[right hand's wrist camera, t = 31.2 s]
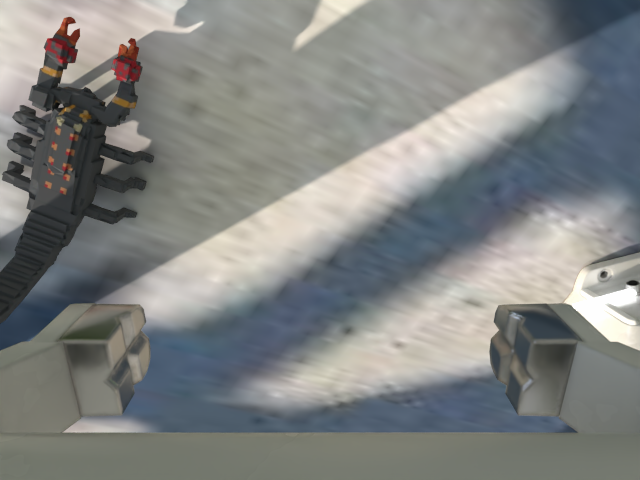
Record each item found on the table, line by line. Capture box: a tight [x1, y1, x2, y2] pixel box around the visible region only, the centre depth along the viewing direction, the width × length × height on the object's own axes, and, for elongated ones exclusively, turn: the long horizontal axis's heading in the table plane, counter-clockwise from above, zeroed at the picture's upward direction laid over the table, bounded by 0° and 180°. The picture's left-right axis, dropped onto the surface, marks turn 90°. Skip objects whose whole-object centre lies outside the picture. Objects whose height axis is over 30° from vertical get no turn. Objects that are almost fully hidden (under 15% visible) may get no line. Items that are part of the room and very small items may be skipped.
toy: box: [0, 17, 154, 324], centre depth 37 cm, size 13×27×18 cm, turn 156°
